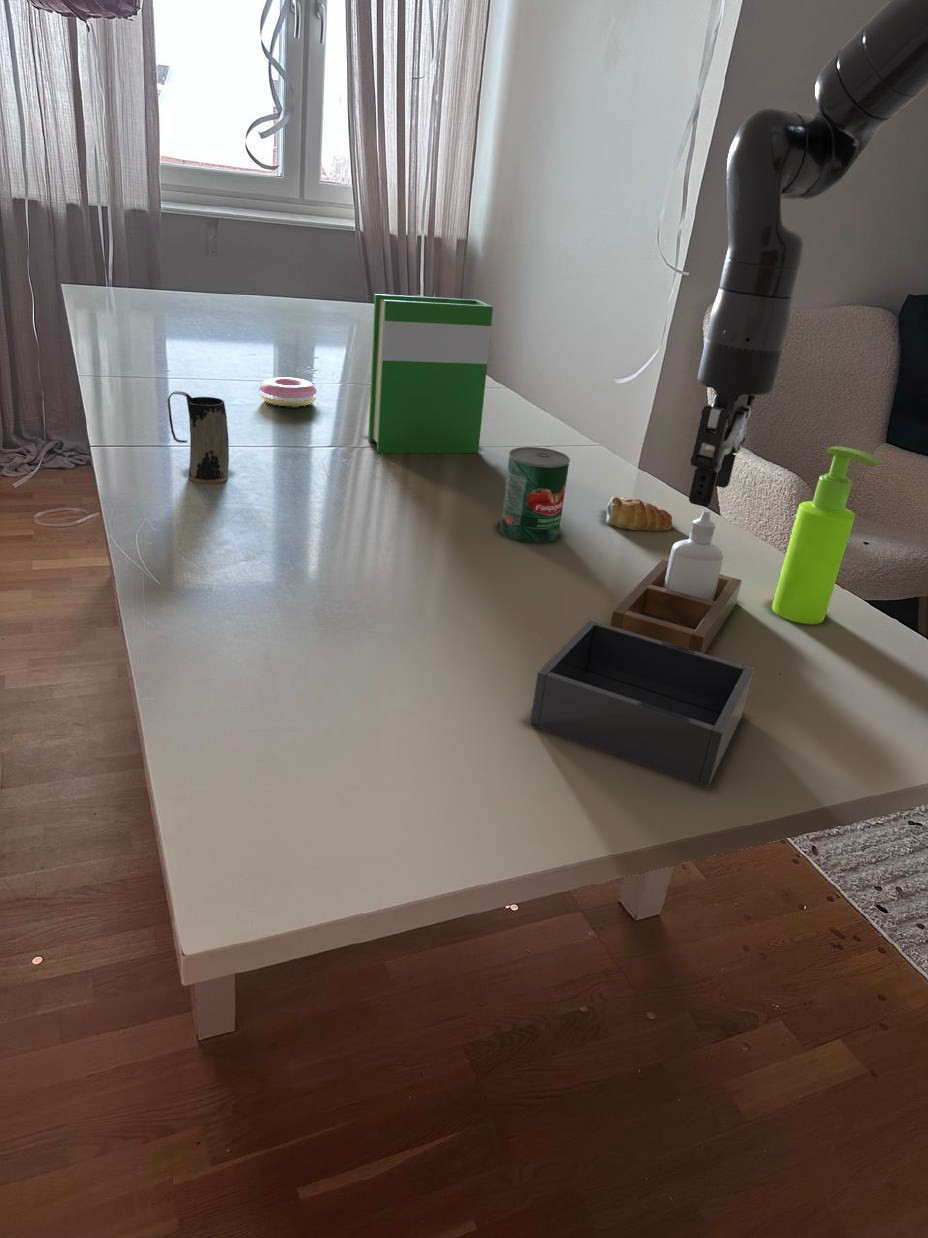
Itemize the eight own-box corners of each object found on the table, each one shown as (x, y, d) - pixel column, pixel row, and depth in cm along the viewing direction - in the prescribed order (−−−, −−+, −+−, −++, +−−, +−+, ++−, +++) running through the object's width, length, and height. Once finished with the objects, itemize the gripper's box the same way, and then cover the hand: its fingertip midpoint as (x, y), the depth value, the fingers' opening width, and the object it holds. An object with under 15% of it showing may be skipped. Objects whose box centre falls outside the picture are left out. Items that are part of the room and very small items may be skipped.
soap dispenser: (816, 636, 100) (868, 461, 91) (761, 612, 104) (806, 444, 95) (840, 623, 103) (893, 454, 95) (786, 601, 108) (832, 438, 99)
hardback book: (377, 452, 148) (385, 300, 137) (368, 440, 154) (374, 293, 144) (478, 452, 154) (493, 306, 143) (464, 440, 160) (478, 299, 149)
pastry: (666, 521, 130) (672, 496, 128) (673, 538, 124) (679, 512, 122) (602, 514, 130) (606, 489, 129) (606, 531, 124) (611, 505, 122)
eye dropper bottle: (700, 623, 100) (724, 522, 94) (654, 607, 102) (674, 508, 97) (714, 611, 103) (738, 513, 98) (669, 596, 106) (690, 500, 100)
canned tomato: (546, 551, 115) (558, 468, 110) (490, 537, 118) (499, 456, 113) (566, 533, 122) (578, 454, 117) (512, 520, 124) (522, 443, 120)
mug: (231, 472, 132) (229, 390, 126) (227, 484, 127) (225, 399, 122) (175, 470, 131) (171, 387, 125) (169, 481, 126) (164, 396, 120)
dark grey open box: (740, 721, 82) (754, 668, 79) (706, 792, 71) (722, 733, 69) (580, 670, 88) (589, 619, 85) (529, 728, 77) (537, 672, 75)
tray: (735, 607, 105) (742, 579, 103) (696, 668, 90) (704, 637, 89) (656, 585, 108) (661, 558, 107) (607, 640, 94) (612, 611, 92)
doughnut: (326, 408, 172) (326, 386, 170) (271, 410, 166) (271, 388, 164) (303, 394, 180) (303, 373, 178) (250, 396, 174) (250, 375, 172)
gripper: (769, 354, 82) (728, 520, 89) (794, 339, 94) (756, 487, 101) (689, 341, 85) (656, 503, 92) (723, 327, 97) (691, 472, 104)
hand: (708, 494), depth 97 cm, fingers open, 8 cm apart
